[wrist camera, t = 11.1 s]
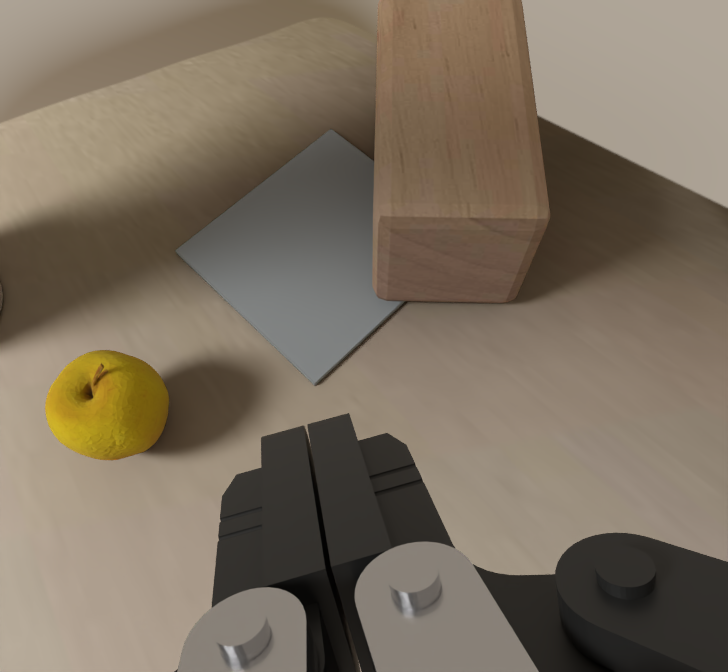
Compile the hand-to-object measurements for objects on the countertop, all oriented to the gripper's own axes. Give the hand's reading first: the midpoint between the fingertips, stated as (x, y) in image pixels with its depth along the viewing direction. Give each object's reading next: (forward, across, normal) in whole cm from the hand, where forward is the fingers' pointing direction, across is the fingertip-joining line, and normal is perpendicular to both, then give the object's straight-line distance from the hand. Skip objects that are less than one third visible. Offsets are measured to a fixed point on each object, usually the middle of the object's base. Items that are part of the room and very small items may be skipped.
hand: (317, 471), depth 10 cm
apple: (+29, +12, +11) cm, 33 cm away
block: (+26, -10, +5) cm, 29 cm away
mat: (+36, -3, +4) cm, 36 cm away
